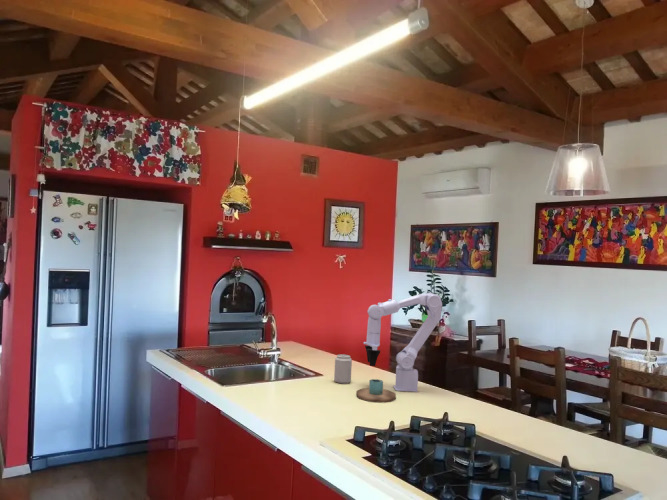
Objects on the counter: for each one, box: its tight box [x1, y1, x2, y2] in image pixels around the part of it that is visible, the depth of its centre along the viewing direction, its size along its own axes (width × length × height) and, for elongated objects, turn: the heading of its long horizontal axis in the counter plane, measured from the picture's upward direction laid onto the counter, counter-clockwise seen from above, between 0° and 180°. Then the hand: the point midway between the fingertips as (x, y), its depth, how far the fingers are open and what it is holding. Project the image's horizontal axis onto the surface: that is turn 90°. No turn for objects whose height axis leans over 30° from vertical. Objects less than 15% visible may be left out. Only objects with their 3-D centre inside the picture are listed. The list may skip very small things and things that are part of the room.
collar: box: [368, 378, 384, 395], centre depth 218 cm, size 5×5×5 cm
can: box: [333, 354, 353, 385], centre depth 240 cm, size 8×8×12 cm
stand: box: [355, 387, 397, 403], centre depth 218 cm, size 16×16×6 cm
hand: (371, 364), depth 232 cm, fingers open, 7 cm apart
